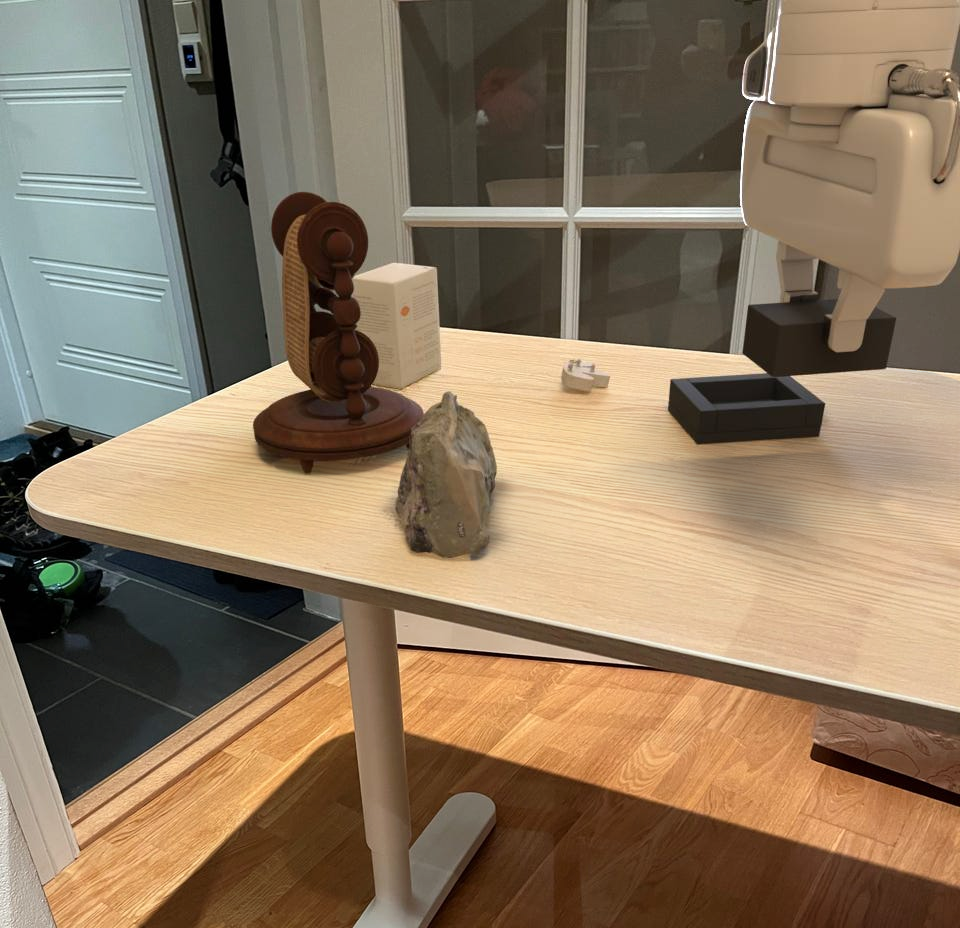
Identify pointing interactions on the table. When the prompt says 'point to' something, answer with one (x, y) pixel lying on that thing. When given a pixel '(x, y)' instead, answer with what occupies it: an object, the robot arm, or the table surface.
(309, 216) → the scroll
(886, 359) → the black rectangular block
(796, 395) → the socket pad
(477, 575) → the table surface
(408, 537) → the mineral rock
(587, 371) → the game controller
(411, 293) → the small box
